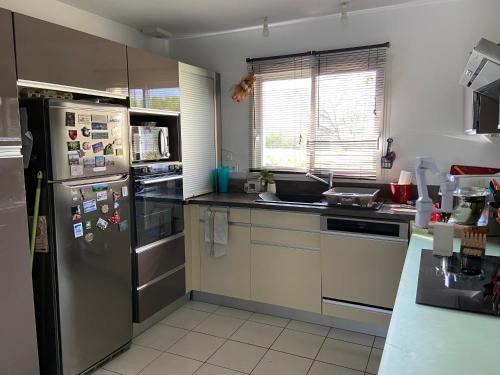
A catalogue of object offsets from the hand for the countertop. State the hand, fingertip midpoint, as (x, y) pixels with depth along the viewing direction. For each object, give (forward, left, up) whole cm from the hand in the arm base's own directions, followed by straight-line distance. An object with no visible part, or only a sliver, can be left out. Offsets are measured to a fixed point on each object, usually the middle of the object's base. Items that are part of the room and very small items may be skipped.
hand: (445, 225), depth 232 cm
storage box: (-2, +1, -5) cm, 6 cm away
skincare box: (+41, -26, -5) cm, 49 cm away
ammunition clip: (+44, -13, -5) cm, 46 cm away
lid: (-2, +1, -1) cm, 2 cm away
